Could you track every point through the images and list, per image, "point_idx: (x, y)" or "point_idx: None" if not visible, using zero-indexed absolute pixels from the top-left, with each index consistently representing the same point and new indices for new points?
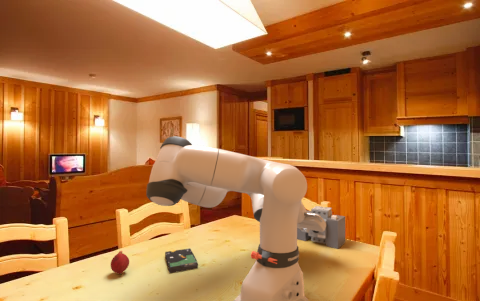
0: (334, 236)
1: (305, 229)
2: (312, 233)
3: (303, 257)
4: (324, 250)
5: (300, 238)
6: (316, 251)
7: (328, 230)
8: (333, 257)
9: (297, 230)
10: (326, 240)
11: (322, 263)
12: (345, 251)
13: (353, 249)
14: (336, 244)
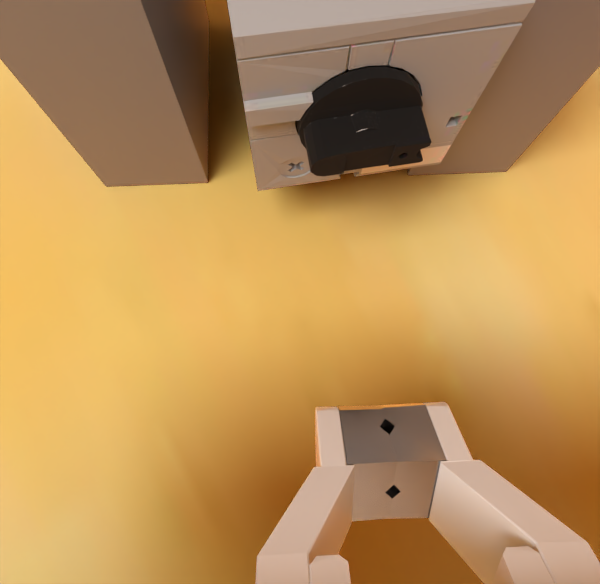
0: (530, 104)
1: (421, 504)
2: (304, 165)
3: (391, 568)
4: (443, 272)
5: (152, 176)
6: (405, 341)
7: None
8: (579, 367)
9: (86, 132)
10: None
11: None
12: (574, 182)
13: (593, 107)
14: (511, 151)
